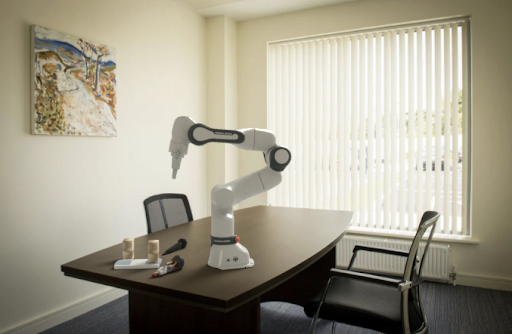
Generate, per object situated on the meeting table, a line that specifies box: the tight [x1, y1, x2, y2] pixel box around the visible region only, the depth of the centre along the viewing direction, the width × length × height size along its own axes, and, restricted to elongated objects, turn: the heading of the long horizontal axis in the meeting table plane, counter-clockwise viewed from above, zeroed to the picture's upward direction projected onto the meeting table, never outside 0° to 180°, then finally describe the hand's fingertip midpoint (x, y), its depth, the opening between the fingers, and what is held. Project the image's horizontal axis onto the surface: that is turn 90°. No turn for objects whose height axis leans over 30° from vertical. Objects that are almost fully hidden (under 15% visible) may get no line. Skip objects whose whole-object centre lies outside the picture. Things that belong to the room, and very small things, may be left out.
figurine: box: [150, 254, 185, 278], centre depth 169 cm, size 8×7×18 cm
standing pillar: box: [147, 239, 160, 263], centre depth 179 cm, size 4×4×10 cm
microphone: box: [161, 238, 188, 256], centre depth 204 cm, size 6×6×20 cm
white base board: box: [113, 258, 163, 270], centre depth 178 cm, size 21×10×2 cm, turn 97°
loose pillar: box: [122, 237, 135, 260], centre depth 188 cm, size 4×4×10 cm
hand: (173, 178), depth 178 cm, fingers open, 8 cm apart
